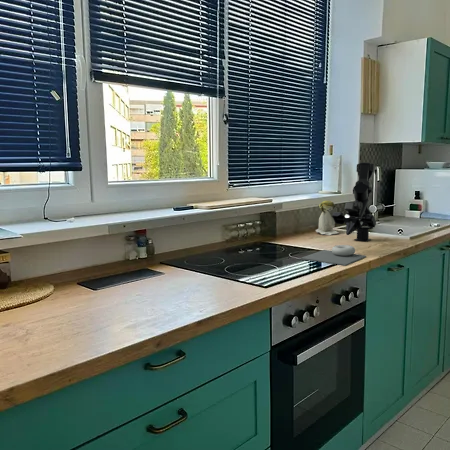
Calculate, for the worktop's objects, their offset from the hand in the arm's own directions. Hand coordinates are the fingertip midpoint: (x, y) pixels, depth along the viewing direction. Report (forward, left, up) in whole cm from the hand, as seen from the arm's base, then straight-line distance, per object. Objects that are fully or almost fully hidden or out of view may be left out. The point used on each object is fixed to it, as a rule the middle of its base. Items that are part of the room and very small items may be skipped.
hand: (347, 234), depth 195 cm
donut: (-2, 0, -6) cm, 7 cm away
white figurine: (-42, -32, -9) cm, 54 cm away
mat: (+10, -1, -9) cm, 13 cm away
